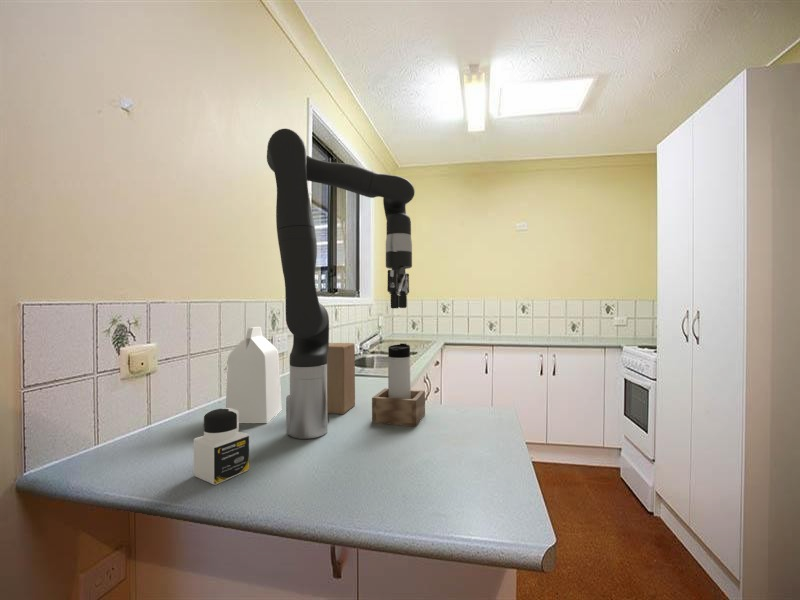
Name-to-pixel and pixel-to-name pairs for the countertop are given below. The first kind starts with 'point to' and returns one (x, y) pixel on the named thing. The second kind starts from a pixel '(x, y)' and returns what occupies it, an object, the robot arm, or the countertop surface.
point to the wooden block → (340, 377)
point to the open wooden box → (398, 408)
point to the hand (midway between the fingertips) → (399, 308)
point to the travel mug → (399, 371)
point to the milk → (254, 379)
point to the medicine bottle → (221, 447)
